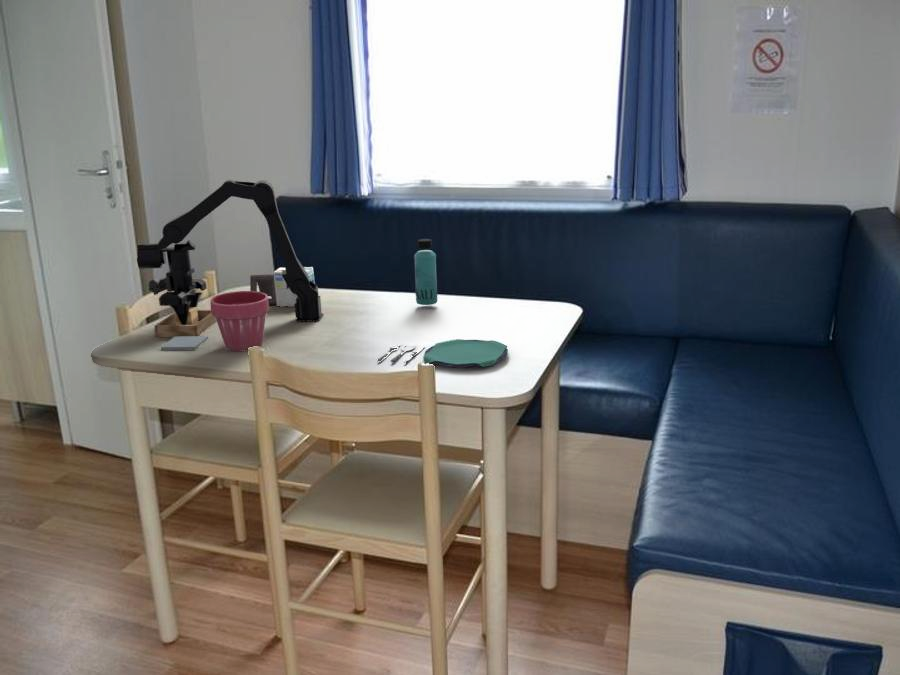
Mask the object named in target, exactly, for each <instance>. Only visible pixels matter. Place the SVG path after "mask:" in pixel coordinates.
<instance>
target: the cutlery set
mask: <svg viewBox="0 0 900 675" xmlns="http://www.w3.org/2000/svg"><path fill="white" fill-rule="evenodd" d="M389 348H390V350H388V351H387V352H391V351H392V350H394V349H397V348H392V347H389ZM411 352H412V351H411ZM508 352H509V350H508V345H506V344H505V343H502V342H500V341H497V340H493V339H492V340H484V339H483V340H482V339H462V338H461V339H458V338H457V339H449V340H446V341H441V342H438V343H435V344H434V345H432V346H430V347H429V348H427V349H426V350H425V351H424V354H423V361H424V362H423V363H425V364H426V363H430V364H431V363H432V364H433V363H434V364H437V365H439V366H440V365H441V366H446V367H459V368H460V367H461V368H462V367H477V366H478V367H479V366H482V367H483V368H485V367H488V366H491V367H492V366H494V365H495V364H496V362H498V361H501V360H502V359H504V358H505V357H507V356H508ZM401 353H402V352H400V353H399V354H396V356H394V357H393V358H392V359H390V363H391V362H394V361H395V362H397V361H398V360H399V359H400V357H402V356H401ZM412 353H414V354H412ZM412 353H411V354H410V356H411V355H412V356H414V355H415V354H416V353H417V352H416V351H415V352H414V351H413V352H412ZM387 355H388V354H387V353H385V354H384V355H382V356H380V357H379V358H377V362H378V361H381V360H382V359H383V358H384V357H386V356H387ZM399 356H400V357H399Z"/></svg>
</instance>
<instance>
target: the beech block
mask: <svg viewBox="0 0 900 675" xmlns="http://www.w3.org/2000/svg"><path fill="white" fill-rule="evenodd" d="M197 310H198V306H197V307H190V308H189V313H188V318H187V323H186V325H195V324H197V323H198V322H199V321H198V313H197ZM174 312H175V311H174ZM175 320H176V325H182V324H181V322H180V320H179V318H178V316H177V314H176V312H175Z"/></svg>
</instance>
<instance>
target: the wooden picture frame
mask: <svg viewBox="0 0 900 675" xmlns="http://www.w3.org/2000/svg"><path fill="white" fill-rule="evenodd" d="M197 313H198V320H199V322H198V323H197V324H195V325H175V324H176V320H175V311H174V312H172V313H171V314H170V315H168V316H166V318H163V319H161V321H159V322H158V323H157V324H154V332H155V337H156V338H157V337H158V338H159V337H160V338H163V337H166V338H173V337H175V336H201V335H202V334H203V333H204V332H206V331H207V330H208V329H209V328H211V327H212V326H213V325H214V324H215V323H217V322H216V321H217V320H216V317H214V316H213V315H212V314H211V309H197ZM212 324H213V325H212ZM211 325H212V326H211ZM210 326H211V327H210ZM208 327H209V328H208ZM207 328H208V329H207ZM206 329H207V330H206ZM205 330H206V331H205ZM202 332H203V333H202ZM201 333H202V334H201ZM200 334H201V335H200Z"/></svg>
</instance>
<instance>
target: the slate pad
mask: <svg viewBox="0 0 900 675" xmlns="http://www.w3.org/2000/svg"><path fill="white" fill-rule="evenodd" d="M208 338H209V336H208V335H199V336H175V337H171V339H170V340H168V341H167V342H166V343H165V344H163V345H161V346H160V350H161V351H186V350H185V349H191V350H190V351H193V350H192V349H196V350H197V348H198V347H199V346H200V345H201V344H202V343H203V344H204V342H205V341H206V340H207V339H208ZM208 340H209V339H208ZM208 340H207V341H208ZM207 341H206V342H207ZM206 342H205V343H206ZM203 344H202V345H203ZM202 345H201V346H202ZM201 346H200V347H201ZM200 347H199V348H200ZM199 348H198V349H199Z"/></svg>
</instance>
